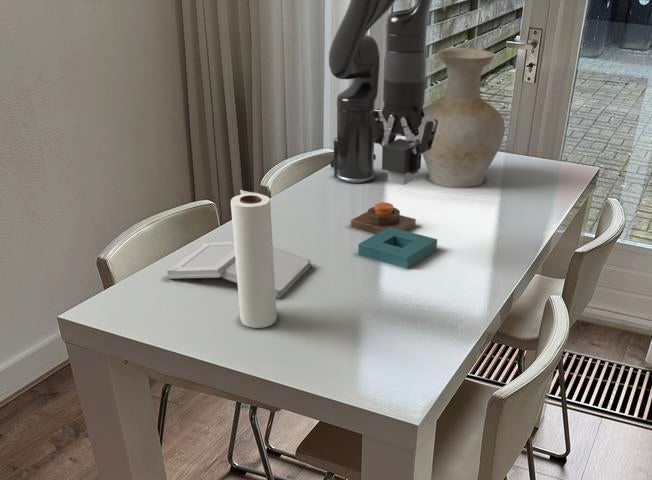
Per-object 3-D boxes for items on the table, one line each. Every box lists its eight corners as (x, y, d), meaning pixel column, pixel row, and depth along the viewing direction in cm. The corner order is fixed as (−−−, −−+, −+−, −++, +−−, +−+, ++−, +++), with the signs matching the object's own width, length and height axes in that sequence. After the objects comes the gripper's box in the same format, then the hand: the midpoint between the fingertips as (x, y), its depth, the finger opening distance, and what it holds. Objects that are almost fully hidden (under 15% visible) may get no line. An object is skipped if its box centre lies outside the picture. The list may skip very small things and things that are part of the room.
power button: (370, 213, 166) (371, 206, 165) (380, 208, 169) (381, 201, 168) (386, 217, 164) (386, 210, 163) (396, 212, 167) (396, 204, 166)
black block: (381, 182, 147) (382, 145, 144) (398, 174, 152) (399, 138, 148) (403, 187, 145) (405, 150, 141) (419, 179, 149) (421, 143, 146)
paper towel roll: (270, 330, 128) (263, 206, 116) (235, 327, 129) (224, 203, 117) (282, 311, 134) (277, 191, 122) (249, 307, 135) (240, 188, 123)
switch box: (350, 227, 167) (350, 212, 165) (373, 215, 174) (374, 200, 172) (393, 239, 162) (394, 223, 160) (415, 226, 169) (416, 211, 167)
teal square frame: (358, 255, 155) (358, 243, 154) (389, 237, 163) (389, 226, 162) (407, 269, 150) (407, 257, 148) (436, 250, 158) (437, 239, 157)
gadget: (311, 266, 150) (311, 248, 148) (280, 299, 138) (279, 280, 136) (206, 249, 155) (204, 232, 153) (166, 279, 143) (164, 261, 141)
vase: (418, 163, 207) (424, 43, 191) (499, 168, 205) (512, 47, 189) (409, 189, 189) (414, 59, 173) (498, 195, 187) (512, 64, 171)
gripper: (449, 78, 138) (443, 172, 147) (382, 67, 144) (380, 158, 153) (428, 85, 132) (423, 182, 141) (359, 74, 139) (359, 167, 148)
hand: (401, 169), depth 147 cm, fingers closed on black block, 5 cm apart
